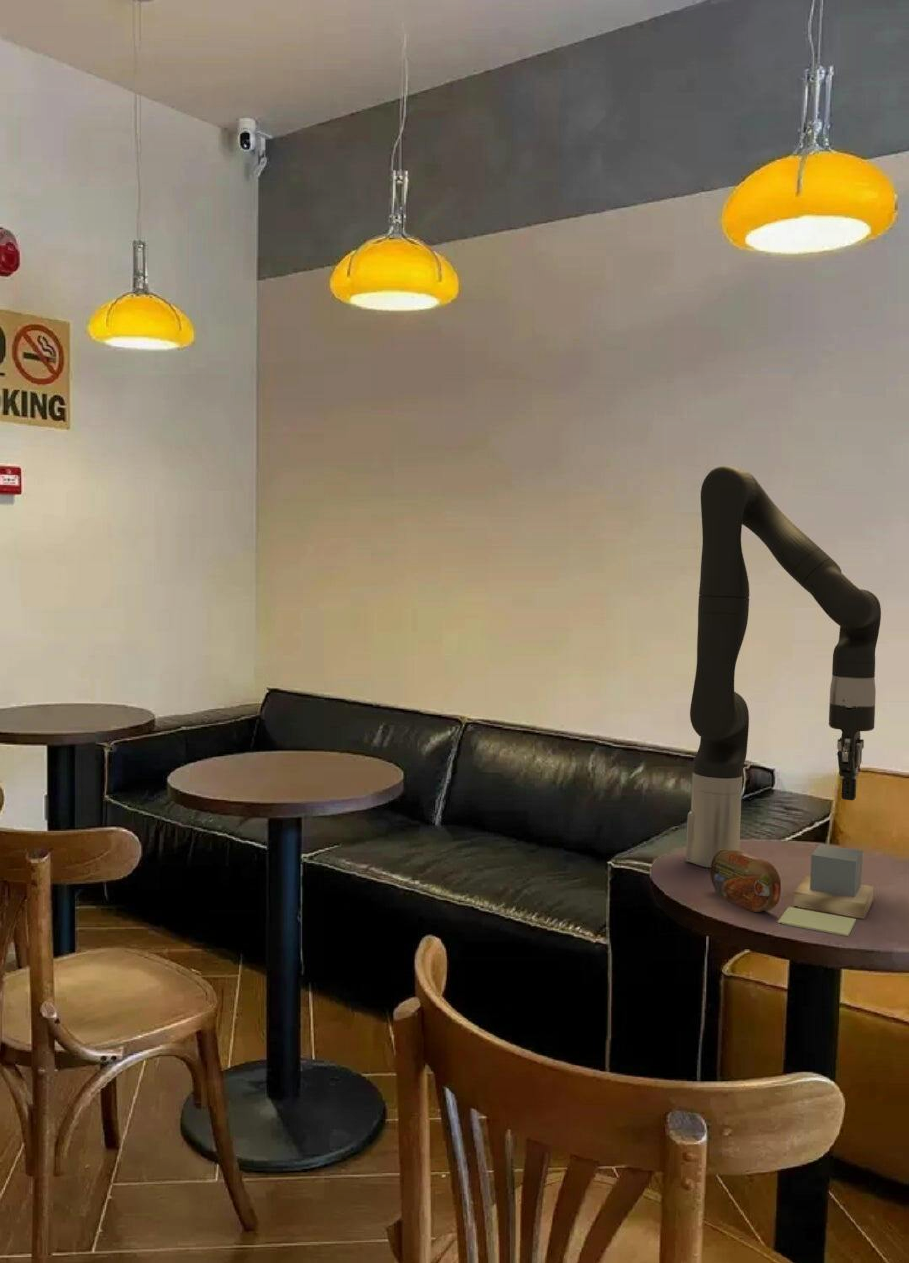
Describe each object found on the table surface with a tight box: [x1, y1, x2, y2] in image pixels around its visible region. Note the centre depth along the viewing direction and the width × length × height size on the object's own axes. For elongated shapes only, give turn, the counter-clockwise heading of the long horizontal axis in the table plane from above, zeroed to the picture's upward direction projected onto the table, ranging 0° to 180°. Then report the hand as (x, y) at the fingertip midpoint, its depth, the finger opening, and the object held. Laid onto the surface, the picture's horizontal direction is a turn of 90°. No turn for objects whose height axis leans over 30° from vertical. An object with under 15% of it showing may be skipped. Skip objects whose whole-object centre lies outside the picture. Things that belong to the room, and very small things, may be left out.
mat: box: [777, 906, 857, 937], centre depth 161 cm, size 10×8×1 cm
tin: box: [709, 850, 782, 913], centre depth 169 cm, size 15×3×8 cm, turn 24°
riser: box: [793, 875, 875, 920], centre depth 170 cm, size 11×11×2 cm
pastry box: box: [810, 844, 864, 897], centre depth 171 cm, size 7×8×6 cm
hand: (848, 799), depth 179 cm, fingers closed
